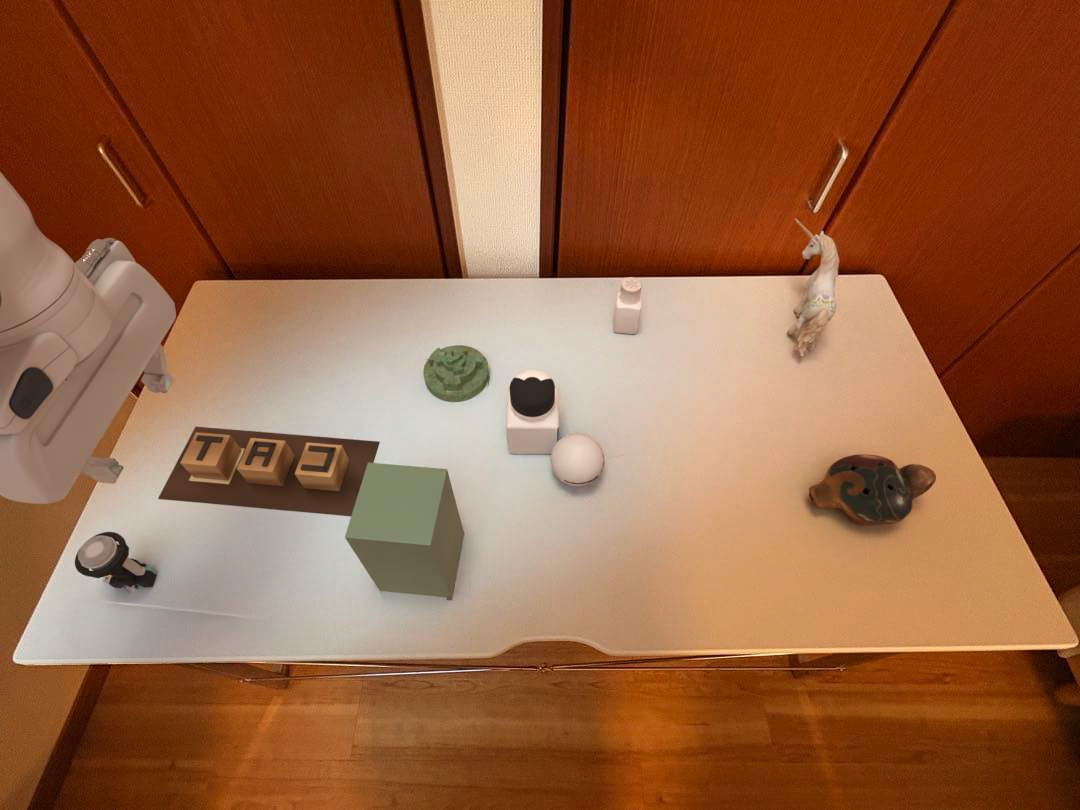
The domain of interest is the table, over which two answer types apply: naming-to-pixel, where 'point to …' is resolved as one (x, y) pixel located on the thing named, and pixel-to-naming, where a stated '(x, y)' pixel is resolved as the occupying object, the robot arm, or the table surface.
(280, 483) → the tile
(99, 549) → the push button
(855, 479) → the decorative turtle
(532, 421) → the white black domed block
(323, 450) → the tile
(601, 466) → the white sphere
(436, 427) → the table surface
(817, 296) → the unicorn figurine
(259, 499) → the word board
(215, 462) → the tile
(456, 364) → the decorative artifact
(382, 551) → the stand
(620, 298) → the pepper shaker
